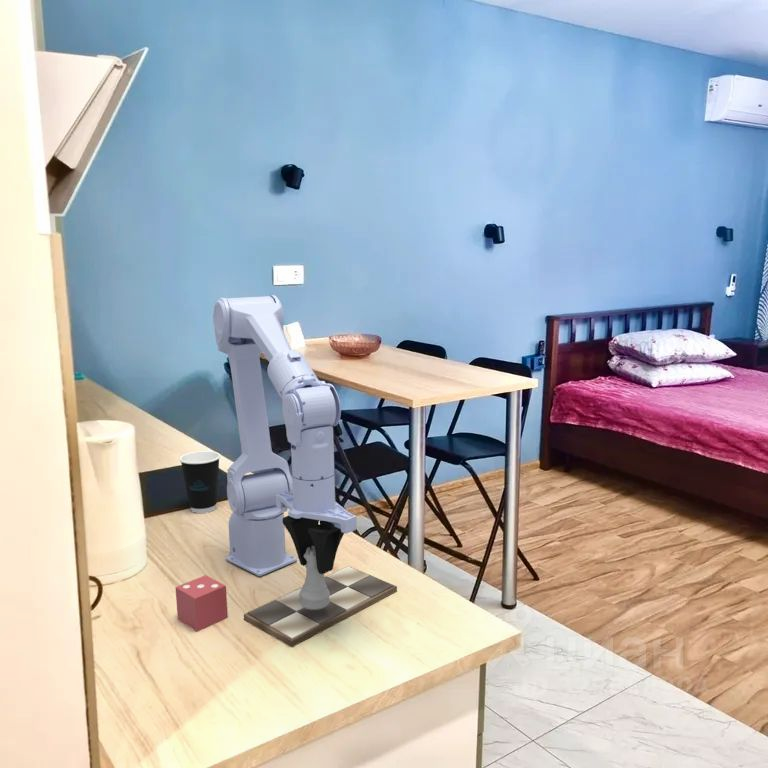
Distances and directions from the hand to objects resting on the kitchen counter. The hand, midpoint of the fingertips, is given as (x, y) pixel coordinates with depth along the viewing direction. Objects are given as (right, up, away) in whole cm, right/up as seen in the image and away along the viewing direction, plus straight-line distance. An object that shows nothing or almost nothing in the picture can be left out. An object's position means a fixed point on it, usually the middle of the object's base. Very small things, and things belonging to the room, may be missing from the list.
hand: (316, 567), depth 100 cm
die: (-16, -8, +2) cm, 18 cm away
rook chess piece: (0, -5, +1) cm, 6 cm away
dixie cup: (-27, 0, +44) cm, 52 cm away
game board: (0, -7, +5) cm, 9 cm away
